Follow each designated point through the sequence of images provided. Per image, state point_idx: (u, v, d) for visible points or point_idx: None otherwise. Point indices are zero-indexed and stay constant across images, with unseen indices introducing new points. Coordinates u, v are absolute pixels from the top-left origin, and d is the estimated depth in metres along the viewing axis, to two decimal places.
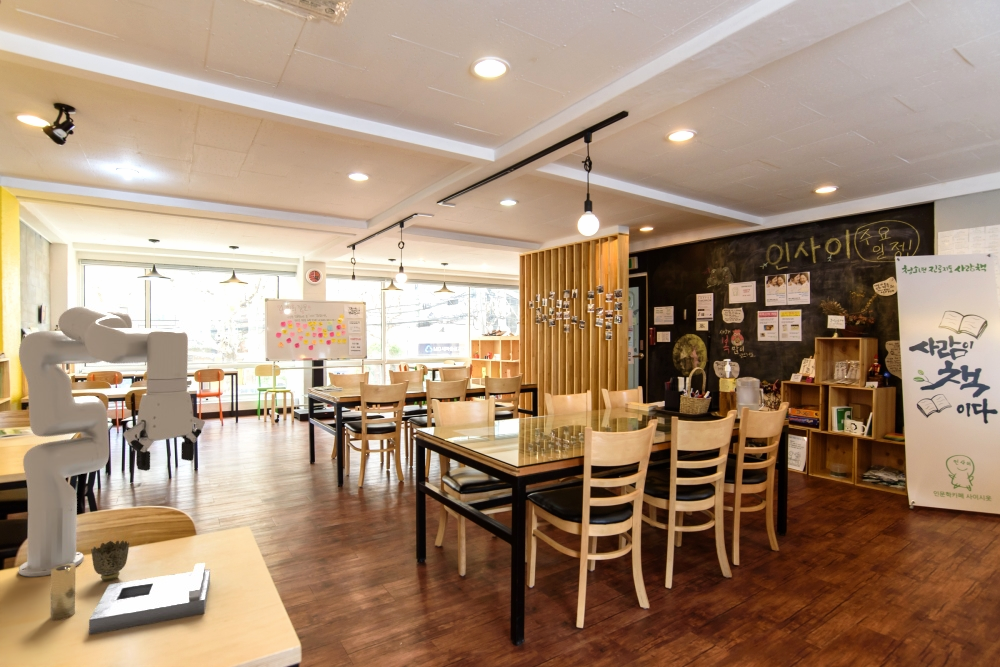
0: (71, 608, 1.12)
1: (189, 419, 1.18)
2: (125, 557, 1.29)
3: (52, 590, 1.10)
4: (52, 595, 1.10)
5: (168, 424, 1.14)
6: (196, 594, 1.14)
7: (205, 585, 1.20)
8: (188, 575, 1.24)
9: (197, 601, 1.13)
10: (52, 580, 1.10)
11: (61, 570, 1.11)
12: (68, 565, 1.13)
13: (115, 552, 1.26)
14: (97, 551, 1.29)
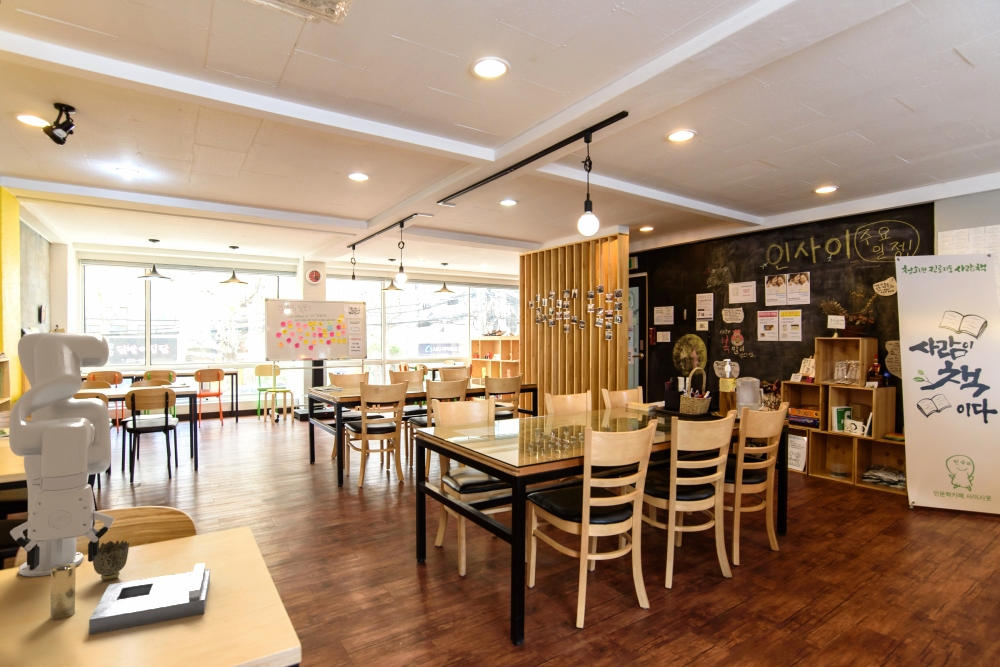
0: (71, 608, 1.12)
1: None
2: (125, 557, 1.29)
3: (52, 590, 1.10)
4: (52, 595, 1.10)
5: None
6: (196, 594, 1.14)
7: (205, 585, 1.20)
8: (188, 575, 1.24)
9: (197, 601, 1.13)
10: (52, 580, 1.10)
11: (61, 570, 1.11)
12: (68, 565, 1.13)
13: (115, 552, 1.26)
14: None
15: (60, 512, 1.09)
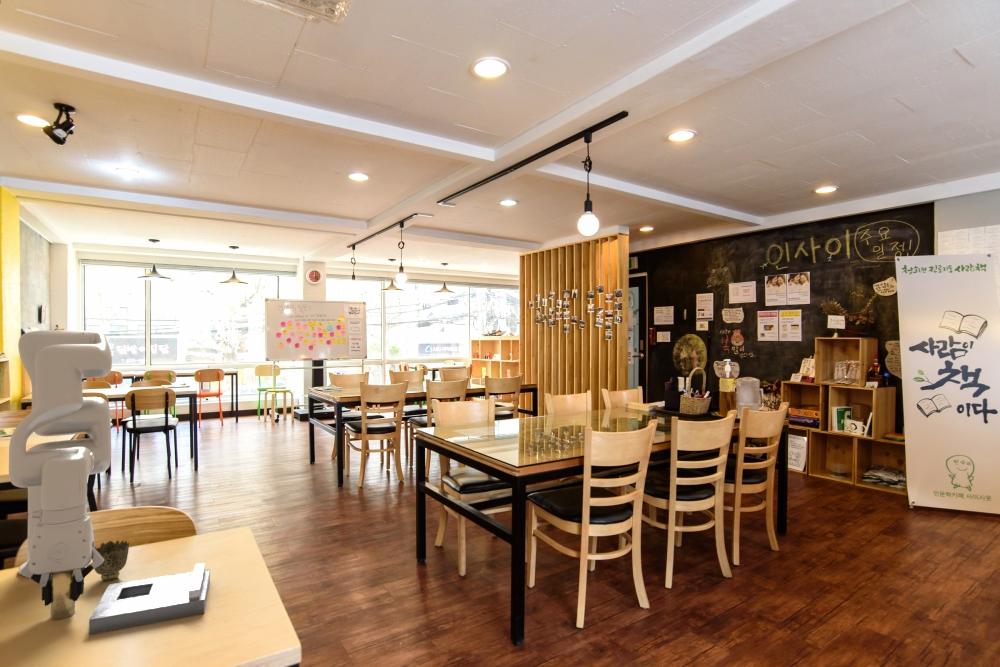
0: (71, 608, 1.12)
1: None
2: (125, 557, 1.29)
3: (52, 590, 1.10)
4: (52, 595, 1.10)
5: None
6: (196, 594, 1.14)
7: (205, 585, 1.20)
8: (188, 575, 1.24)
9: (197, 601, 1.13)
10: (52, 580, 1.10)
11: None
12: None
13: (115, 552, 1.26)
14: None
15: (59, 545, 1.09)
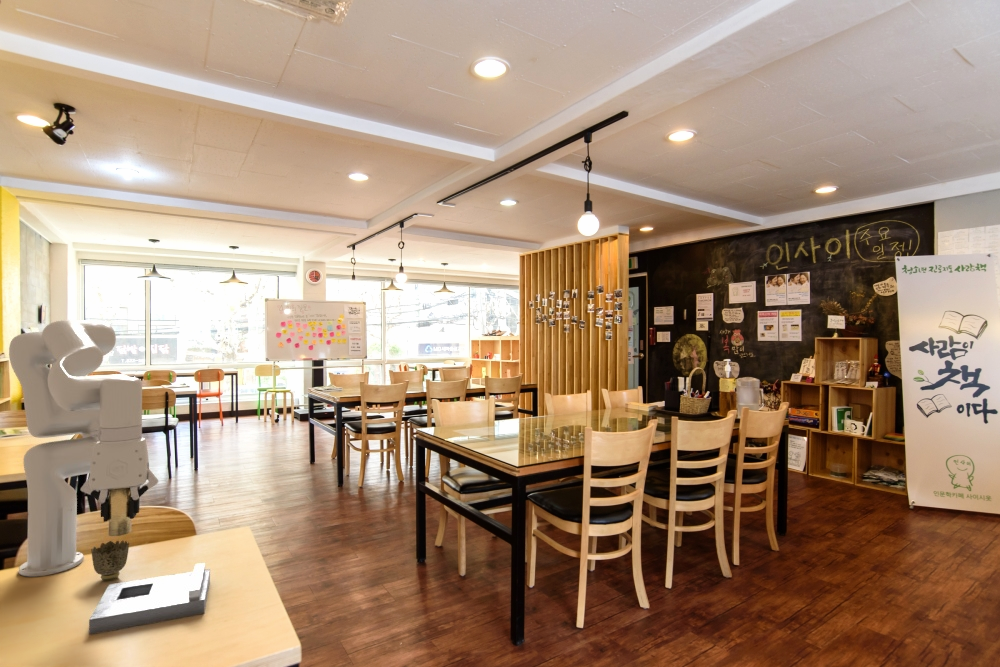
0: (128, 526, 1.15)
1: None
2: (125, 557, 1.29)
3: (110, 507, 1.13)
4: (110, 512, 1.13)
5: None
6: (196, 594, 1.14)
7: (205, 585, 1.20)
8: (188, 575, 1.24)
9: (197, 601, 1.13)
10: (110, 497, 1.13)
11: None
12: None
13: (115, 552, 1.26)
14: (97, 551, 1.29)
15: (117, 462, 1.13)
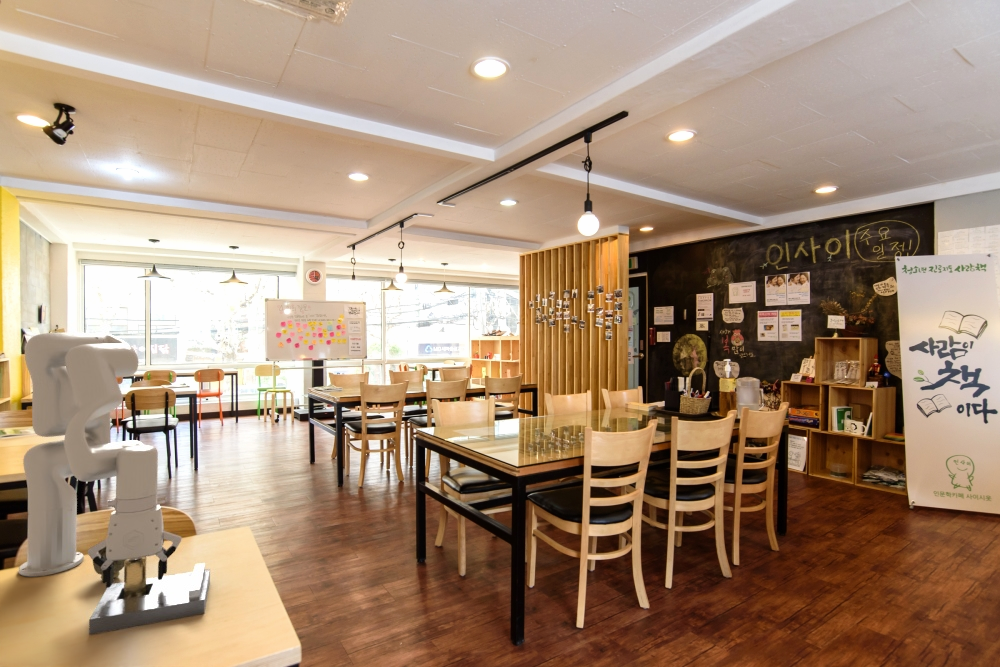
0: None
1: None
2: None
3: (126, 581, 1.15)
4: (126, 585, 1.15)
5: None
6: (196, 594, 1.14)
7: (205, 585, 1.20)
8: (188, 575, 1.24)
9: (197, 601, 1.13)
10: (126, 571, 1.15)
11: (134, 561, 1.15)
12: None
13: None
14: None
15: (134, 533, 1.14)
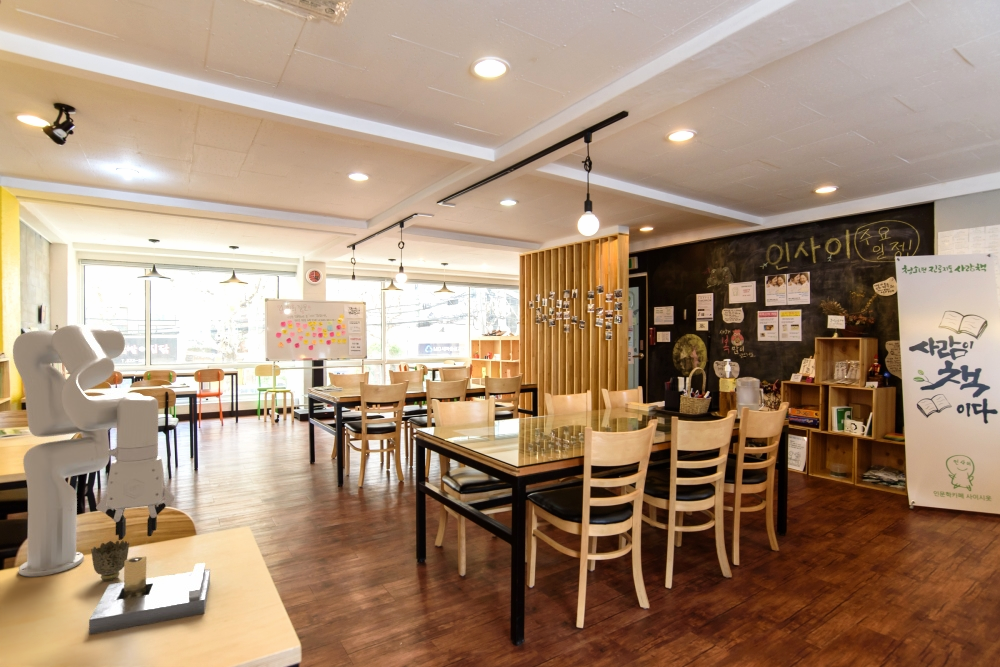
0: None
1: None
2: (125, 557, 1.29)
3: (126, 581, 1.15)
4: (126, 585, 1.15)
5: None
6: (196, 594, 1.14)
7: (205, 585, 1.20)
8: (188, 575, 1.24)
9: (197, 601, 1.13)
10: (126, 571, 1.15)
11: (134, 561, 1.15)
12: (139, 557, 1.18)
13: (115, 552, 1.26)
14: (97, 551, 1.29)
15: (134, 482, 1.14)
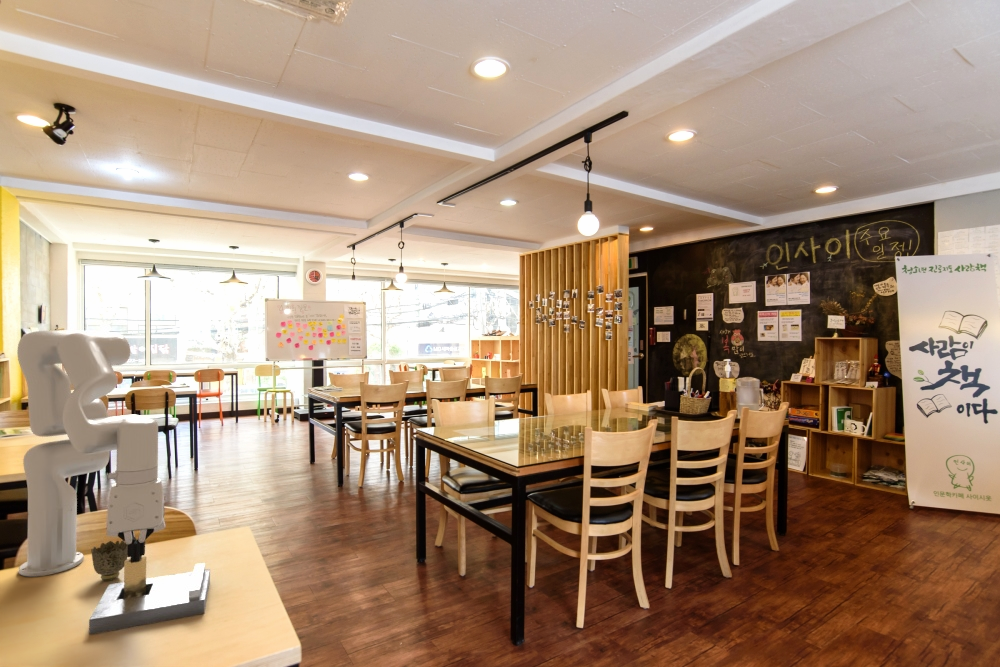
0: None
1: None
2: (125, 557, 1.29)
3: (126, 581, 1.15)
4: (126, 585, 1.15)
5: None
6: (196, 594, 1.14)
7: (205, 585, 1.20)
8: (188, 575, 1.24)
9: (197, 601, 1.13)
10: (126, 571, 1.15)
11: (134, 561, 1.15)
12: None
13: (115, 552, 1.26)
14: (97, 551, 1.29)
15: (134, 505, 1.14)
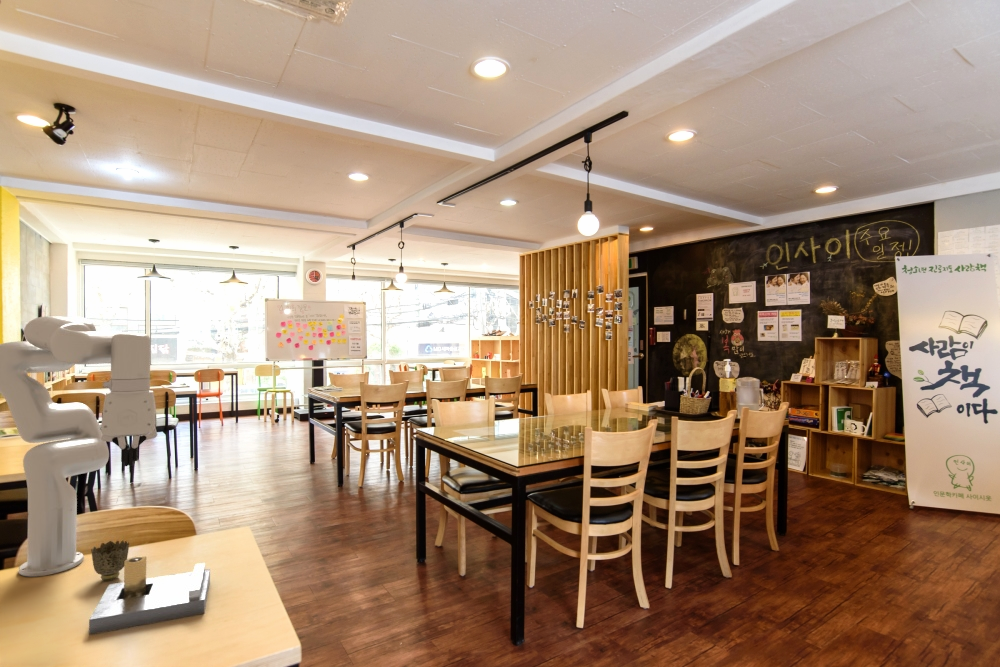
0: None
1: None
2: (125, 557, 1.29)
3: (126, 581, 1.15)
4: (126, 585, 1.15)
5: None
6: (196, 594, 1.14)
7: (205, 585, 1.20)
8: (188, 575, 1.24)
9: (197, 601, 1.13)
10: (126, 571, 1.15)
11: (134, 561, 1.15)
12: (139, 557, 1.18)
13: (115, 552, 1.26)
14: (97, 551, 1.29)
15: (128, 412, 1.21)
